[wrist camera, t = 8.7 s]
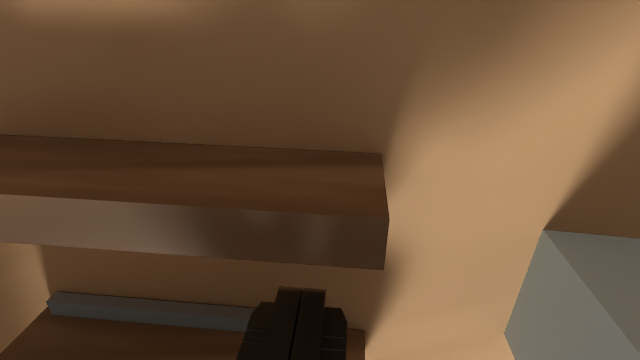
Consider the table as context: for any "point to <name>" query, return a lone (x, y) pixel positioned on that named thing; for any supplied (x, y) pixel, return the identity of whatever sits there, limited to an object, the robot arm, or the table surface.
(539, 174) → the table surface
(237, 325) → the pad
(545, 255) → the block
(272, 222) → the rack
